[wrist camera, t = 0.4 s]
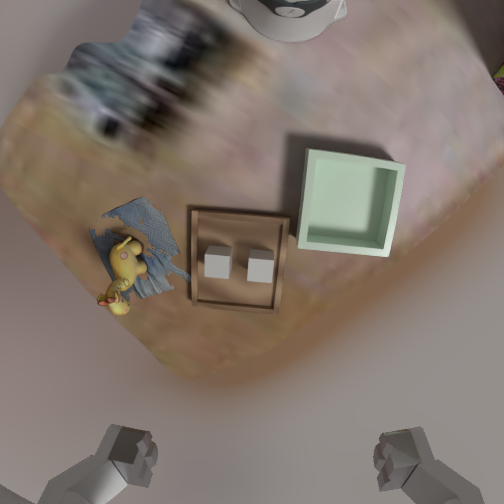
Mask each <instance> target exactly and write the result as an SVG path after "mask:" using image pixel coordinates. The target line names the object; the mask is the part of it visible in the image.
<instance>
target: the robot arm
mask: <svg viewBox="0 0 504 504" xmlns="http://www.w3.org/2000/svg"><path fill="white" fill-rule="evenodd" d="M230 6H231V7H232V8H234V9H235V10H237V11H239V12H240V13H242V14H243V15H244V16H245V17H246V18H247V20H248V21H249V23H250V24H251V25H252V26H253V27H254V28H255V29H256V30H257V31H258V32H260V33H261V34H263V35H265V36H267V37H269V38H271V39H274V40H278V41H283V42H300V41H305V40H308V39H311V38H313V37H315V36H317V35H319V34H320V33H322V32H323V31H324V30H325V29H326V28H327V27H328V26H329V25H330V24H331V23H332V22H335V21H338V20H340V19H342V18H344V17H345V16H346V14H347V7H346V3H345V0H230ZM340 6H341V7H340ZM151 439H152V435H151V433H150V431H144V430H139V429H134V428H129V427H124V426H120V425H114V424H111V425H110V426H109V427H108V429H107V431H106V433H105V435H104V437H103V439H102V441H101V444H100V446H99V448H98V450H97V452H96V454H95V456H94V455H90V456H89V457H87V458H86V459H84V460H82V461H81V462H79V463H78V464H76V465H74V466H73V467H71V468H69V469H68V470H66V471H64V472H63V473H61V474H59V475H58V476H56V477H54V478H52V479H51V480H49V482H48V484H47V486H46V488H45V490H44V491H43V494H42V496H41V497H40V500H39V502H38V504H106V503H107V502H108V501H109V500H111V499H112V498H113V497H114V496H115V495H116V494H118V493H119V492H120V491H121V490H122V489H124V488H125V487H126V486H127V485H128V484H132V485H137V486H142V487H147V488H148V487H149V484H150V481H151V477H152V475H153V474H152V472H151V470H150V469H151V468H152V467H153V466H155V464H156V462H157V457H158V449H157V446H156V443H154V442H153V441H152V440H151ZM379 441H380V443H379V444H377V445H376V447H375V450H374V456H373V458H374V466H375V468H376V469H377V470H378V471H379V472H380V473H379V475H378V477H377V480H378V485H379V489H380V492H381V491H387V490H393V489H398V488H401V489H402V490H403V491H404V492H405V493H406V494H407V495H408V496H409V497H410V498H411V499H412V500H413V501H414V502H415V503H416V504H485V503H484V501H483V498H482V495H481V492H480V489H479V488H478V487H476V486H475V485H473V484H472V483H471V482H469V481H468V480H466V479H465V478H463V477H462V476H461V475H459V474H457V473H456V472H455V471H453V470H452V469H451V468H449V467H448V466H446V465H445V464H444V463H442V462H441V461H440V460H435V459H434V457H433V454H432V451H431V448H430V446H429V443H428V440H427V438H426V435H425V432H424V430H423V428H422V427H415V428H410V429H404V430H398V431H392V432H387V433H382V434H381V435H380V437H379ZM0 504H34V503H32V502H30V501H28V500H27V499H25V498H23V497H21V496H19V495H18V494H16V493H14V492H12V491H11V490H9V489H7V488H6V487H4V486H2V485H1V484H0Z"/></svg>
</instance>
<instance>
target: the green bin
mask: <svg viewBox="0 0 504 504" xmlns="http://www.w3.org/2000/svg"><path fill="white" fill-rule="evenodd" d="M405 166H406V164H403V163H399V162H396V161H392V160H387V159H381V158H375V157H369V156H363V155H357V154H351V153H344V152H337V151H330V150H322V149H314V148H306V150H305V160H304V170H303V180H302V189H301V198H300V207H299V215H298V224H297V232H296V242H297V247H298V248H300V249H311V250H322V251H332V252H343V253H353V254H363V255H374V256H384V257H389V252H390V248H391V243H392V239H393V234H394V229H395V224H396V219H397V214H398V209H399V203H400V198H401V192H402V186H403V179H404V173H405Z"/></svg>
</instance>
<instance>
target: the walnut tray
mask: <svg viewBox="0 0 504 504" xmlns="http://www.w3.org/2000/svg"><path fill="white" fill-rule="evenodd" d="M289 226H290V217H288V216H278V215H267V214H256V213H244V212H232V211H219V210H206V209H193V210H192V222H191V288H192V306H196V307H205V308H213V309H222V310H232V311H242V312H252V313H263V314H274V315H278V314H279V307H280V299H281V292H282V284H283V276H284V268H285V260H286V252H287V243H288V235H289ZM209 245H212V246H223V247H233V253H232V269H231V273H230V276H229V279H222V278H212V277H205V253H206V251H207V249H208V247H209ZM250 249H256V250H267V251H274V267H273V276H272V283H264V282H253V281H247V275H248V262H249V254H250Z"/></svg>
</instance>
